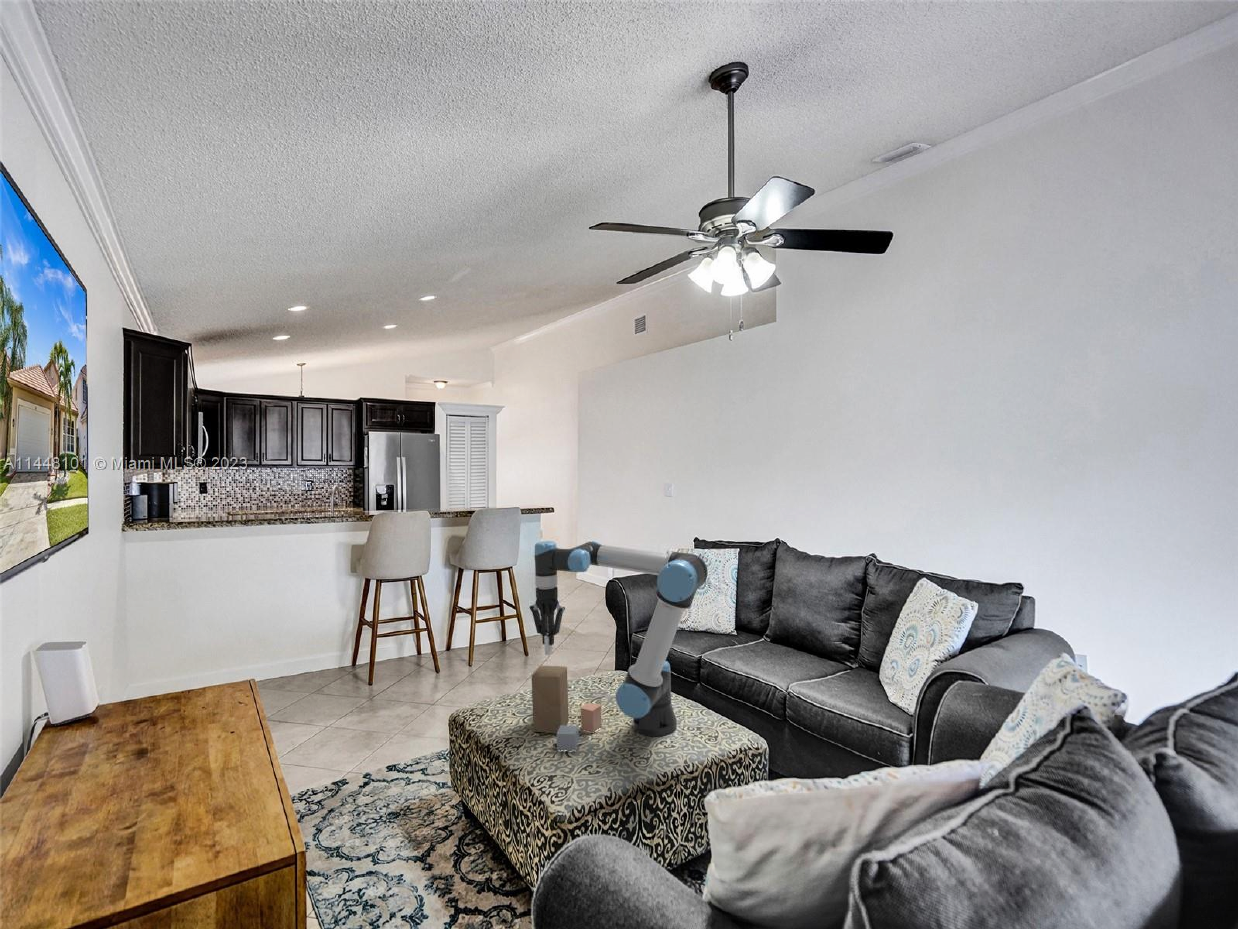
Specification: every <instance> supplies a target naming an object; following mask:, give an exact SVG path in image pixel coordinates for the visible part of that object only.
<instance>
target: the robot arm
mask: <svg viewBox="0 0 1238 929" xmlns="http://www.w3.org/2000/svg"><path fill="white" fill-rule="evenodd" d="M533 556H534V566H535V567H534V570H535V573H534V574H535V582H534V584H535V602H534V603H533V604H532V605H530V606H529V610H530V612H531V614H532V616H533V617H532V618H533V622H534V626H535V630H536V633H537V634H540V635H541V640H542V641H541V642H542V645H544V655H545V656H550V655H551V654H553V645H554V644H555V636H556V635H558V634H559V633H560V630H561V625H562V624H561V623H562V619H563V614H564V612H565V610H566V607H565V606H562V605H560V602H559V600H558V598H559V596H558V595H559V594H558V572H560V571H561V572H571V573H585V572H587V571H588V568H590V566H597V567H602V568H603V567H604V568H609V569H615V570H617V569H618V570H623V571H630V572H636V573H641V574H647V575H655V576H657V580H656V584H657V589H656V591H655V595H656V598H657V603H656V606H655V609H654V612H653V615H652V617H651V620H650V623H649V626H648V628H647V631H646V634H645V636H644V639H643V641H642V645H641V648H640V651H639V653H638V656H637V659H636V662H635V663H634V664H632V665H630V666H629V668H628V670H627V673H626V676H625V678H624V681H623V683H622V684H621V685H620V686H619V687H618V689H617V691H616V693H615V702H616V705H617V707H618V708H619V710H620V711H621V712H622V713H623V714H624V715H626V716H627V717H629V718H632V728H633V729H634V731H636V732H637V733H638V734H641V735H644V736H648V737H661V736H662V737H663V736H667V735H669V734H671V733H673V732H675V731H676V730H677V727H678V724H677V723H678V721H677V716H676V714H675V711H674V708H673V705H672V685H671V684H672V683H671V682H672V679H671V678H672V677H671V673H672V672H671V665H670V663H669V661H667V657H668V655H669V653H670V649H671V646H672V644H673V642H674V638H675V635H676V634H677V630H678V627H679V626H680V625H679V624H680V622H681V620H682V616H683V614H684V611H685V610H688V609H690V608H691V607H692V604H693V601H694V598H695V595H696V593H697V592H698V591H697V590H699V589H700V588H701V587H703V586H704V584H705V582H706V581H707V578H708V574H709V573H708V572H709V571H708V567H707V564H706V562H705V561H704V559H702V558H701V557H700V555H699V556H698V555H697V554H694V553H690V552H689V553H687V552H678V551H671V552H670V553H663V552H656V551H650V550H649V551H648V550H642V549H635V548H628V547H621V546H620V547H619V546H612V545H606V544H605V545H604V544H601V543H600V542H598V541H586V542H585V543H583V544H580V545H578V546H574V547H572V548H559V547H557V543H556V541H550V540H544V541H542V540H541V541H539V542H535V544H534V555H533ZM555 611H556V615H555Z"/></svg>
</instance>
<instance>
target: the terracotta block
mask: <svg viewBox="0 0 1238 929" xmlns="http://www.w3.org/2000/svg"><path fill="white" fill-rule="evenodd" d="M580 723H581V724H580V725H581V726H580V728H581V729H582V730H585V731H589V732H595V731H596V730H597V729H599V728H601V727H602V726H603V725H602V705H600V704H597V703H592V702H588V703H586V704H584V705H583V706H581V707H580ZM601 729H602V728H601Z"/></svg>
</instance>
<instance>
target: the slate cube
mask: <svg viewBox="0 0 1238 929" xmlns="http://www.w3.org/2000/svg"><path fill="white" fill-rule="evenodd" d="M579 734H580V732H579V725H572V724H571V725H570V724H569V725H568V724H567V725H560V727H559V730H558V732H557V734H556V750H560V751H561V750H570V751H572V750H576V748H577V749H578V747H579V745H578V743H579V744H580V735H579ZM577 746H578V747H577ZM576 751H577V750H576Z"/></svg>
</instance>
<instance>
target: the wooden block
mask: <svg viewBox="0 0 1238 929" xmlns="http://www.w3.org/2000/svg"><path fill="white" fill-rule="evenodd" d="M568 690H569V688H568V667H567V666H562V665H561V666H556V665H539V667H538V668H537V669H536V670H535V671H534V672H533V674H532V675H531V701H532V724H533V726H532V728H533V733H535V732H545V733H544V734H549V733H557V732H558V730H559V727H560V725H568V723H569V721H570V720H569V718H570V714H569V691H568Z"/></svg>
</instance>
